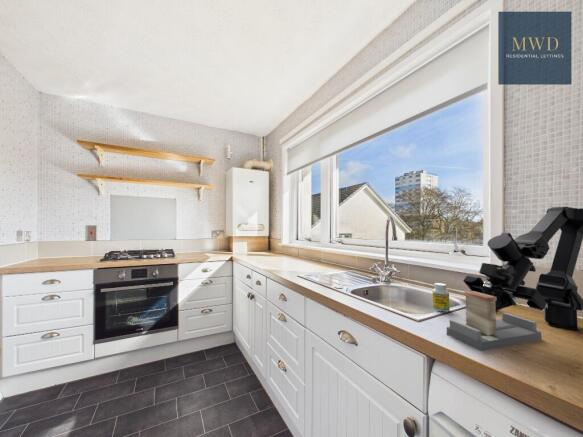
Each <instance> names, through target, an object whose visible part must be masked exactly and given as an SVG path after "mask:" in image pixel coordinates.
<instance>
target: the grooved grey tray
mask: <svg viewBox="0 0 583 437" xmlns="http://www.w3.org/2000/svg"><path fill="white" fill-rule="evenodd" d="M501 314H502V315H501V316H502V318H500V319H496V334H495V335H489V336H488V335H485V334H483V333H481V331H480V330H477V329H475V328H472V327H470V326H468V325H467V323H466V324H465V323H462V322H461V321H457V320H455V319H449V326H446V335H448V336H450V337H451V338H455V339H456V340H458V341H460V342H463V343H465V344H467V345H469V346H470V347H473V348H475V349H477V350H479V351H486V350H492V349H498V348H503V347H509V346H514V345H515V346H516V345H519V344H524V343H531V342H536V341H541V340H542V339H543V338H542V337H543V336H542V331H538V330H537V322H536V321H533V320H530V319H527V318H523V317H521V316H517V315H514V314H510V313H508V312H502V313H501Z"/></svg>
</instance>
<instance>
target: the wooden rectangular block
mask: <svg viewBox="0 0 583 437" xmlns="http://www.w3.org/2000/svg"><path fill="white" fill-rule="evenodd" d="M464 296H465V311H466V312H465V318H466V319H465V320H466V321H465V322H466V324H467V325H468V326H470V327H472V328H475V329H477V330H480V331H481V333H483V334H485V335H488V336H489V335H495V334H496V320H497V314H496V313H497V311H496V307H495V301H497V297H494V296H491V295H487V294H483V293H479V292H475V291H464Z"/></svg>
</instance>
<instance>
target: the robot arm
mask: <svg viewBox="0 0 583 437" xmlns="http://www.w3.org/2000/svg"><path fill="white" fill-rule="evenodd" d="M559 230H560V231H561V232H560V236H559V239H558V243H557V246H556V250H555V253H554V256H553V259H552V264H551V266H550V269H549V271H548V272H547V273H541V274H540V275H539V277H538V281H537V282H536V287H529V286H525V285H526V282H525V280H524V279H525V278H526V276H527V275H528V273H529V272H536V270H537V269H536V267H535V265H534V262H532V260H531V259H533V260H535V259H536V260H542V259H544V258H545V257H546V255H547V254H548V252H549V250H550V248H551V247H550V244H549V243H550V240H551V239H552V238H554V236H555V235H556V233H558V231H559ZM582 243H583V207H582V208H579V207H578V208H576V207H575V208H574V207H572V206H570V207H569V206H556V207H555V206H552V207H549V208H547V210H546V213H545V214H544V216H542V217H541V219H540V220H538V222H537V223H536V224H535V225H534V227H533V228H532V229H531V230H530V231H528V232H527V233H524V234H521V235H518V236H517V237H516V238H513V235H512V234H511V233H510V232H501V233H500V235H496V236H494V237H492V238H490V239H489V240H488V241H487V247H488V248H489V249H490V250H491V251H492V253H493V254H494V255H495V256H496V258H497V259H498V260H499V261H501V262H503V263H502V265H497V264H494V263H486V262H482V263H481V264H480V268H479V272H478V273H479V274H480V275H483V276H485V277H486V278H485V279H486V280H487V281H488V282H487V281H484V280H483V279H482V278H481V277H478V276H473V275H466V276H465V277H464V279H463V282H464V284H465V285H466V286H467V287H468V289H470V290H471V291H475V292H479V293H483V294H487V295H491V296H494V297H497V301H495V307H496V312H498V311H500V310H502V309H505V308H508V307H512V306H515V307H516V306H517V305H518V304H517V300H519V299H522V300H526V304H527V306H528V307H529V308H531V309H534V310H539V311H543V320H544V321H545V323H547V325H548V326H550V327H555V328H556V327H557V328H563V329H567V330H568V329H569V330H574V331H580V330H581V328H579V326H578V311H580V312H581V311H583V298H582V296H581V295H580V294H579V293H578V285H577V283H576V282H575V280H574V278H573V276H574V272H575V268H576V265H577V261H578V258H579V254H580V251H581V247H582Z"/></svg>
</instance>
